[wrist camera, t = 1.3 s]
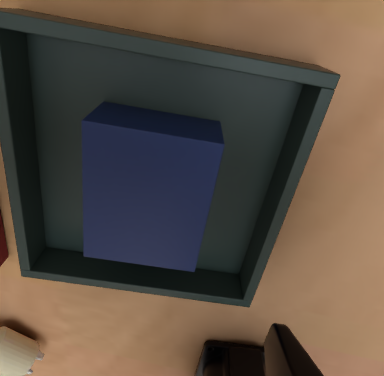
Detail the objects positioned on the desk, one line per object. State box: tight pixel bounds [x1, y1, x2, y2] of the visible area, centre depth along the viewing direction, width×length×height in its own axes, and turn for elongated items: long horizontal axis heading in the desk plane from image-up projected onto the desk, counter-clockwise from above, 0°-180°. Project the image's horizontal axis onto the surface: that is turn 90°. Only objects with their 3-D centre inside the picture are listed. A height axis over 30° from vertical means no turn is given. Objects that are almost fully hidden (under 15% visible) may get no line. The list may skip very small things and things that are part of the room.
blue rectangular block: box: [82, 101, 225, 272], centre depth 16 cm, size 8×6×3 cm
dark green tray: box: [0, 8, 340, 307], centre depth 16 cm, size 14×14×3 cm
